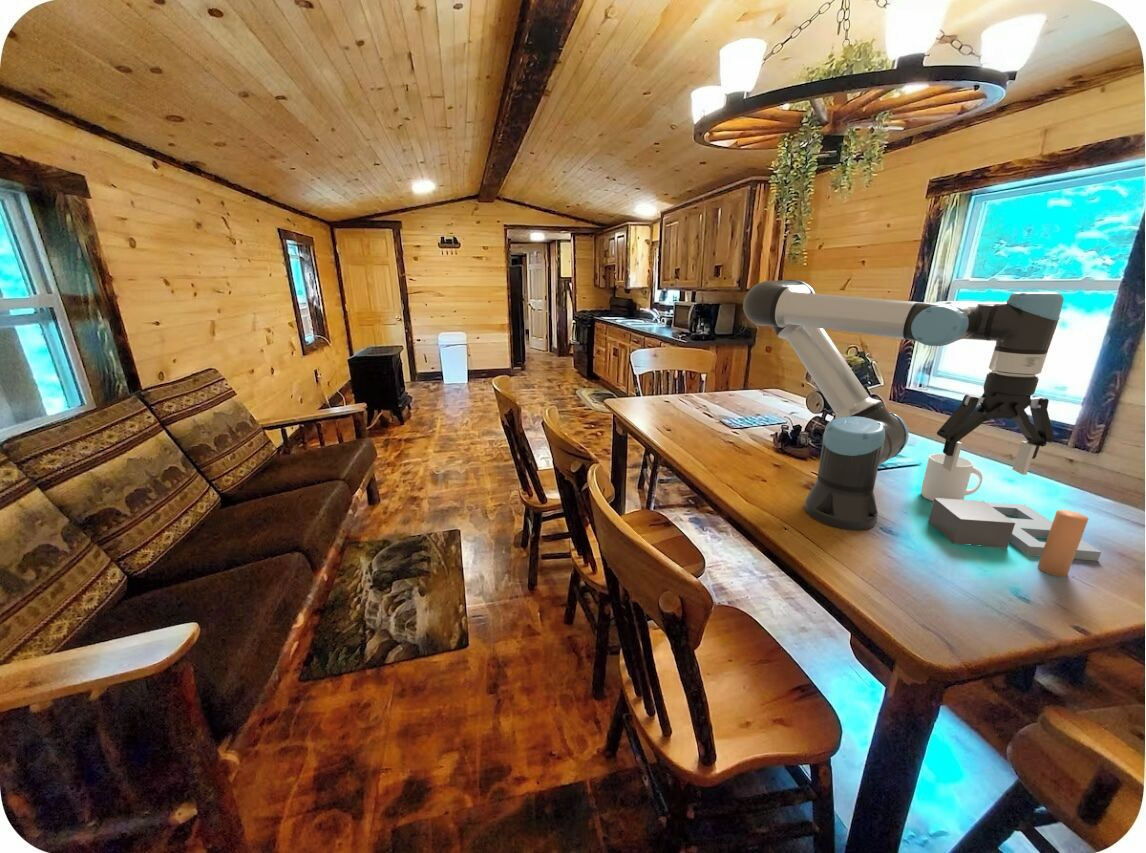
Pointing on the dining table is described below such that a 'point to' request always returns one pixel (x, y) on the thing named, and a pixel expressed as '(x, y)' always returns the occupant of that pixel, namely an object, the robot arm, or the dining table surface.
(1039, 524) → the socket board
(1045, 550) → the peg
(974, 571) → the dining table surface
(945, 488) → the mug
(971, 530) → the cover
